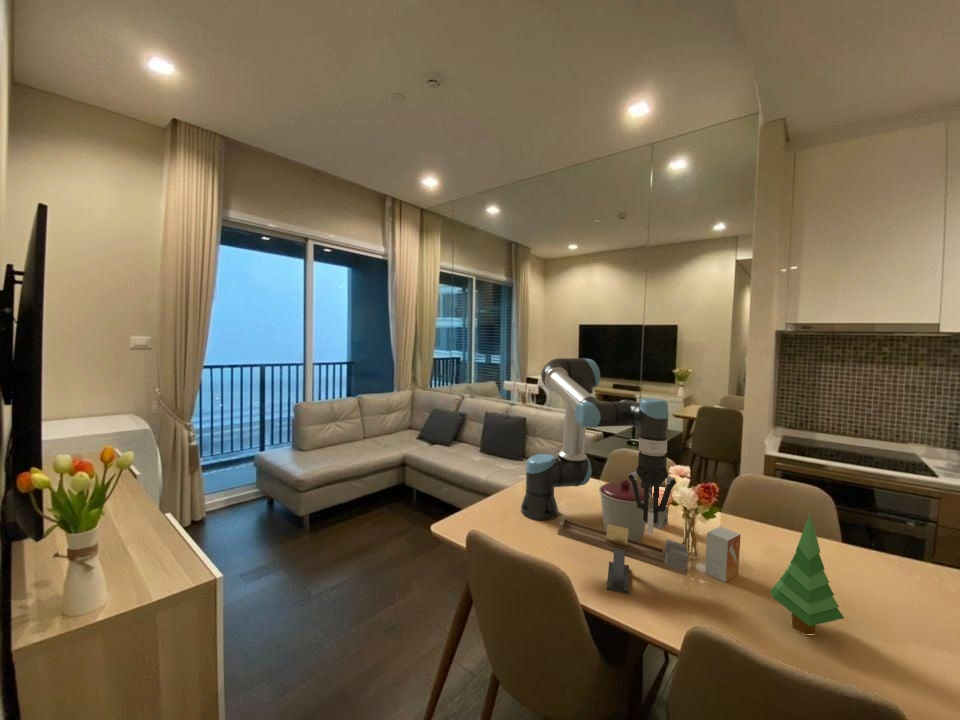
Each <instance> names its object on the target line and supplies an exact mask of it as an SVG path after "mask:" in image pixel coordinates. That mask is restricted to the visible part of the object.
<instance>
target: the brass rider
mask: <svg viewBox="0 0 960 720" xmlns="http://www.w3.org/2000/svg"><path fill="white" fill-rule="evenodd" d="M627 541H628V528H623V527H619V526H615V525H611V524H608V525H607V533H606V542H609V543H612V544H615V545H618V546H622V547H625V548H627Z"/></svg>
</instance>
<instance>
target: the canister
mask: <svg viewBox="0 0 960 720" xmlns="http://www.w3.org/2000/svg"><path fill="white" fill-rule="evenodd" d="M637 486H638V490H639V495H640V499H641V503H643V504H644V488H642V487H641V485H640V486H639V485H637ZM598 491H599V493H600V499H601V513H602V521H603V528H604V531H606V532H607V525H608V524H611V525H615V526H619V527H623V528H628V538H629V539H632V540H635V541H638V542H640V540H641V539H642V538H643V536H644V532H645V530H646V529H645V528H646V525H647V524H646V522H645V521H644V520H643V509H641V508H638V507H637V503H636V498H635V494H634V489H633V485H632V483H631V481H629V480H628V479H626V478H625V479H621V480H620V481H614V482H608V483H605V484H603V485H600V487H599V489H598ZM651 498H652V496H651V494H650V493H649V501H650V500H651ZM648 506H649V504H648Z"/></svg>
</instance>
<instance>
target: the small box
mask: <svg viewBox="0 0 960 720" xmlns="http://www.w3.org/2000/svg"><path fill="white" fill-rule="evenodd" d="M741 535H742V534H740V533H738V532H736V531H733V530H731V529H728V528H726V527H723V526H718V527H716V528H713V529H711V530H709V531H707V533H706V548H705V549H706V550H705V564H704V565H705V566H704V572H705V574H707V575H710V576H711V577H713V578H715V579H718V580H719V581H722V582H724V583H727V582H728V581H730V580H731V579H733V578H735V577H736V576H738V575H739V569H740V568H739V567H740V566H739V565H740V564H739V563H740V550H741V549H740V547H741Z"/></svg>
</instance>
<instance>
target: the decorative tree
mask: <svg viewBox="0 0 960 720" xmlns="http://www.w3.org/2000/svg"><path fill="white" fill-rule="evenodd" d="M812 517H813V516H812V513H811V512H809V514H808V517H807V519H806V523H805V525H804V528H803V530H802V533H801V536H800V538H799V541H798V544H797V547H796V549H795V553H794V554H793V557H792V559H791V561H790V562H789V563H790V564H789V565H788V566H787V568H786V569H785V571H784V573H783V574H782V576H781V577H779V580H778V581H777V582H776V583H775V584H774V587H772V588H771V589H769V592H770V595H771V597H772V598H773V599H774V600H775V601H777V602H778V603H779V604H780V605H782V606H783V607H784V608H785V609H787V610H788V611H789V612H790V613H791V622H792V623H791V627H792V629H793V628H794V629H796V630H798V631H800V632H802V633H804V634H815V635H816V626H817V625H821V624H826V623H830V622H833V621H839V620H843V619H845V616H844V615H843V614H842V612H841V611H840V609H839V608H840V606H839V604H838V603H837V601H836V599H835V598H834V596H835V593H834V592H833V590H832V588H831V586H830V585H829V584H830V581H829V579H828V577H827V574H826V572H825V566H824V563H823V561H822V557H821V555H820V553H821V549H820V544H819V540H818V537H817V533H816V529H815V525H814V522H813V518H812ZM794 629H793V630H794ZM796 630H795V631H796ZM798 631H797V632H798ZM800 632H799V633H800ZM802 633H801V634H802Z"/></svg>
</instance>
